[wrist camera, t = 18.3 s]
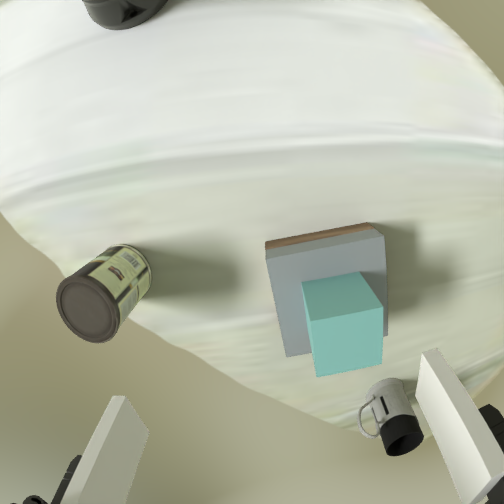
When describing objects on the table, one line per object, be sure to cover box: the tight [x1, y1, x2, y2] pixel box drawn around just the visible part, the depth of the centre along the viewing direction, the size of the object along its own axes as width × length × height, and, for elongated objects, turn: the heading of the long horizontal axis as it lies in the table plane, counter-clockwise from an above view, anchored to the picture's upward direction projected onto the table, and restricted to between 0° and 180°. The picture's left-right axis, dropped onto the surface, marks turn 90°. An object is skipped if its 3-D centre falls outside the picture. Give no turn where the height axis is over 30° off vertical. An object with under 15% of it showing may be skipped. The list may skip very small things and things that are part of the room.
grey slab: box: [266, 228, 388, 357], centre depth 43 cm, size 16×16×4 cm
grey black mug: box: [357, 378, 424, 456], centre depth 48 cm, size 9×14×15 cm, turn 69°
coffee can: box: [56, 244, 152, 343], centre depth 43 cm, size 10×10×14 cm
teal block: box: [301, 272, 383, 377], centre depth 36 cm, size 8×8×10 cm
